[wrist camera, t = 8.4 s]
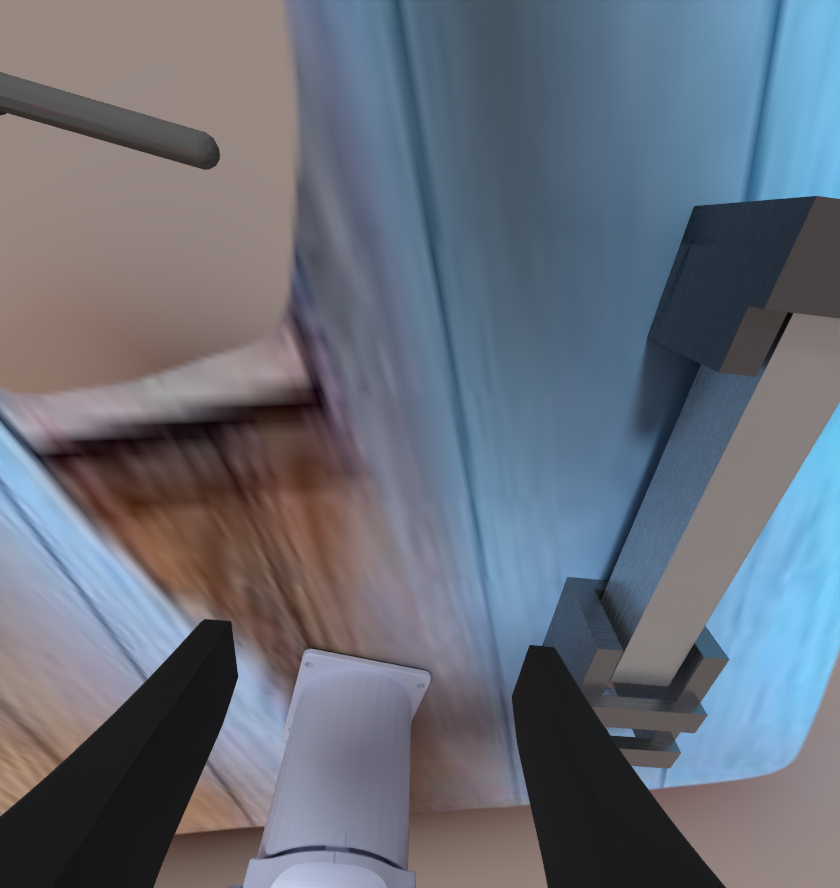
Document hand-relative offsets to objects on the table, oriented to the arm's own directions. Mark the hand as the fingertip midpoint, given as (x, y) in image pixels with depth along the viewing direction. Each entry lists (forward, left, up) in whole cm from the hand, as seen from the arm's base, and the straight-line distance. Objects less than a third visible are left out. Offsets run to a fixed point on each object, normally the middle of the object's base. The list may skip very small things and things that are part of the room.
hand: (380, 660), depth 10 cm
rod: (+2, -13, -9) cm, 16 cm away
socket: (+11, -11, -10) cm, 19 cm away
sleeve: (-8, -15, -10) cm, 20 cm away
